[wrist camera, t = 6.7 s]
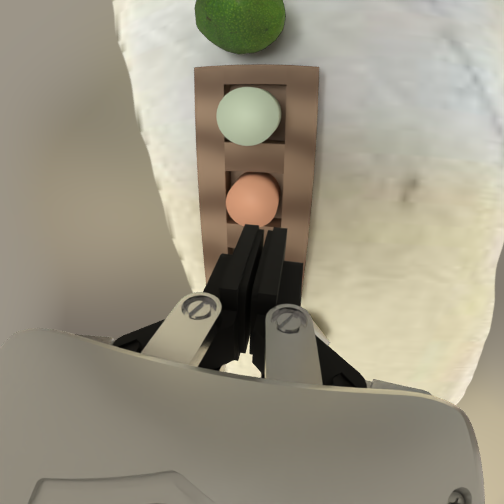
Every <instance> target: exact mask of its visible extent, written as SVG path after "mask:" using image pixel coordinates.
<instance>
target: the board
mask: <svg viewBox="0 0 504 504" xmlns="http://www.w3.org/2000/svg"><path fill="white" fill-rule="evenodd" d="M194 81H195V124H196V150H197V170H198V188H199V203H200V218H201V231H202V243H203V255H204V266H205V277H206V285H207V282H208V280H209V278H210V276H211V274H212V272H213V269H214V267H215V265H216V263H217V261H218V259H219V256H220V255H221V254H222V253H223V254H231V255H232V254H233V252H234V249H235V247H236V245H237V242H238V240H239V237H240V235H241V233H242V230H243V228H244V226H241V225H240V224H238V223H236V222H235V221H234V220H233V219H232V218H231V216H230V215H229V213H228V211H227V207H226V197H227V194H228V192H229V190H230V189H231V187H232V186H233V185H234V184H235V182H236V181H237V180H238V178H239V177H240V176H241V175H242V174H244V173H245V172H265V173H270V174H271V175H272V176H273V177H274V178H275V179H276V180H277V182H278V184H279V186H280V191H281V194H280V199H279V203H278V207H277V211H276V214H275V216H274V218H273V219H272V220H271V221H270V222H269V223H268V224H266V225H265V226H262V227H259V229H264V243H265V239H266V236H267V232H268V230H273V228H274V227H279V228H288V229H287V240H286V250H285V260H284V261H291V262H300V263H303V277H302V287H303V279H304V270H305V262H306V253H307V244H308V234H309V224H310V214H311V203H312V191H313V179H314V165H315V150H316V133H317V113H318V87H319V67H312V66H296V65H223V66H207V67H195V68H194ZM241 87H254V88H260V89H264V90H266V91H268V92H270V93H271V94H272V95H274V96H275V98H276V99H277V100H278V102H279V104H280V107H281V121H280V123H279V125H278V127H277V129H276V130H275V131H274V132H273V133H272V135H271V136H270V137H269V138H268V139H266V140H265V141H263V142H262V143H259V144H257V145H252V146H242V145H238V144H235V143H233V142H231V141H230V140H228V139H227V138H226V137H225V136H224V135H223V134H222V132H221V131H220V129H219V127H218V124H217V117H216V115H217V108H218V105H219V103H220V101H221V100H222V99H223V97H224V96H225V95H226V94H227V93H229V92H230V91H232V90H234V89H237V88H241ZM263 247H264V245H263ZM301 294H302V293H301Z"/></svg>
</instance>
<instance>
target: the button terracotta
mask: <svg viewBox="0 0 504 504" xmlns="http://www.w3.org/2000/svg"><path fill="white" fill-rule="evenodd" d="M280 194H281V191H280V186H279V184H278V182H277V180H276V179H275V178H274V177H273V176H272V175H271V174H270V173H265V172H245V173H244V174H242V175H241V176H240V177H239V178H238V180H237V181H236V182H235V184H234V185H233V186H232V187H231V189H230V190H229V192H228V194H227V197H226V207H227V211H228V213H229V215H230V216H231V218H232V219H233V220H234V221H235V222H236V223H238V224H240V225H241V226H244V225H245V224H250V225H259V227H262V226H265V225H266V224H268V223H269V222H270V221H271V220H272V219H273V218H274V216H275V214H276V211H277V207H278V203H279V199H280Z"/></svg>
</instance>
